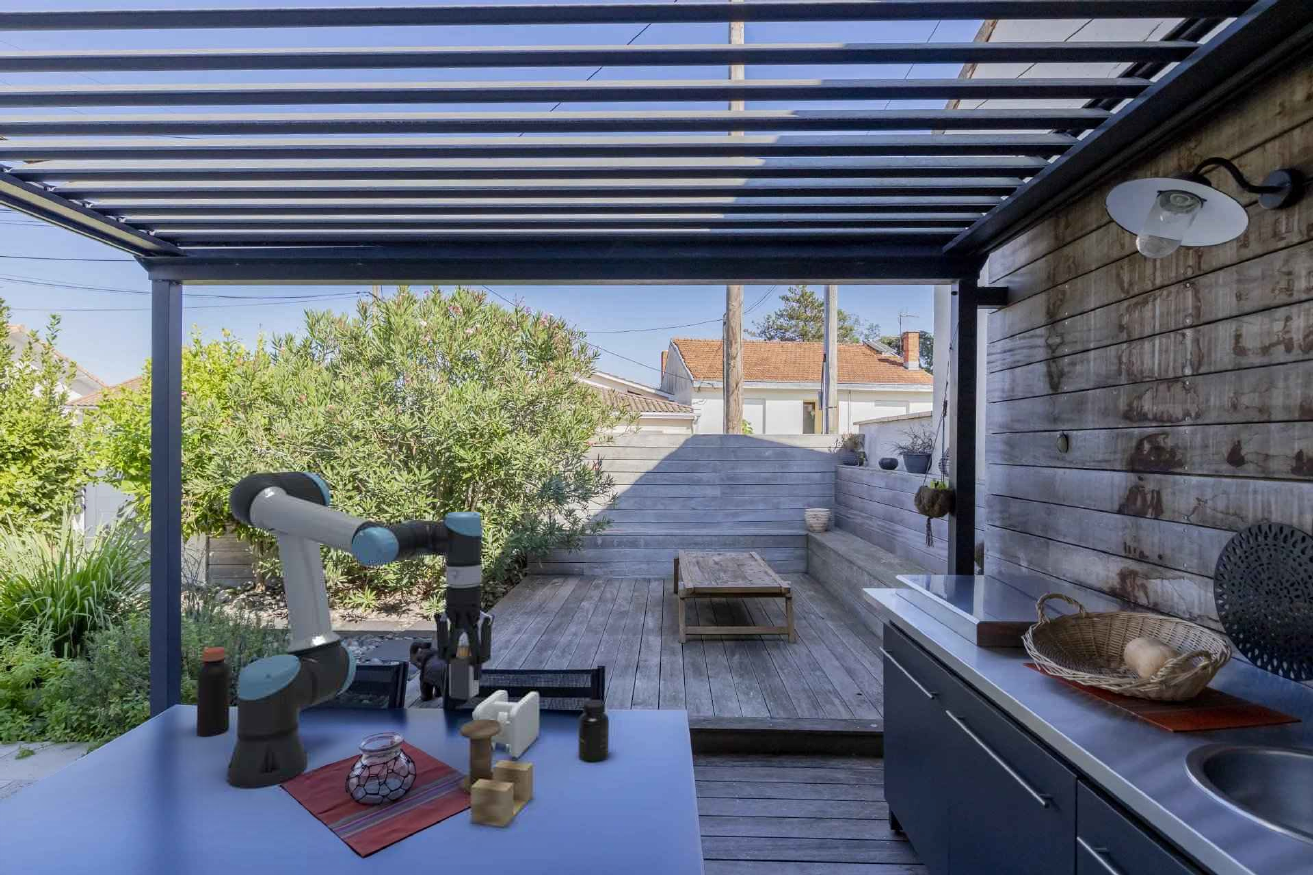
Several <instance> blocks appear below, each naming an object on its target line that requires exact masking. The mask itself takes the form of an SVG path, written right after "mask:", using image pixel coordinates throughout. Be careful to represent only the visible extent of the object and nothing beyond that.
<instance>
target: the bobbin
mask: <svg viewBox="0 0 1313 875" xmlns="http://www.w3.org/2000/svg"><path fill="white" fill-rule="evenodd" d="M500 731H501V724H500V723H499V722H498V721H495V720H490V719H480V720H474V721H473V720H471V721H468V722H465V723H463V724H462V725H461V727H460V735H461V737H463V738H466V739H469V774H467V775H465V776H464V777H462V778H461V780H460V790H461V791H462V790H463V791H465V792H468V793H471V786H473V785H474V784H475V783H476V782H477V781H478V780H479V779H484V780H492V781H493V765H492V760H493V759H492V757H493V756H492V751H493V747H492V736H495V735H497V734H498V733H499V732H500ZM463 791H462V792H463ZM465 792H464V793H465ZM468 793H467V794H468Z"/></svg>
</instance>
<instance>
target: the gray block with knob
mask: <svg viewBox="0 0 1313 875" xmlns="http://www.w3.org/2000/svg"><path fill="white" fill-rule="evenodd" d="M470 664H472V659H471V653H470V648H469V644H466V645H464V644H463V645H458V651H457V656H456V657H455V658H453V659H451V695H450V699H459V700H469V699H470V698H471V697H469V666H470Z"/></svg>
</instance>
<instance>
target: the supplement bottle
mask: <svg viewBox="0 0 1313 875" xmlns="http://www.w3.org/2000/svg"><path fill="white" fill-rule="evenodd" d="M582 707H583V709H582V712H583V713H582V714H581V715H580V716H579V719H578V745H577V746H578V749H577V750H578V753H577V754H578V757H579V759H580V760H582V761H584V762H587V763H598V762H602V761H604V760H606V759H608V758H607V757H608V756H609V742H610V738H609V737H610V736H609V735H610V733H609V732H610V719H609V715H607V713H605V711H606V705H605V702H604V701H603V700H601V699H589V700H586V701H584V702H583V706H582Z"/></svg>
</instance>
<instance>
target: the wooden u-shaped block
mask: <svg viewBox="0 0 1313 875" xmlns="http://www.w3.org/2000/svg"><path fill="white" fill-rule="evenodd" d="M492 772H493V781H492V780H484V779H479V780H478V781H477V782H476V783H475V784H474V785H473V786H471V794H470V823H472V824H479V825H487V826H493V827H500V828H507V826H508V825H509V824H510V823H511V822H512V821H513V819H514V818H516V816H518V814H519V813H520V812H521V811H520V810H523V809H524V807H525V806H526V805H527V804H528V803H529V802H528V801H531V799H532V798H534V797H533V794H534V792H533V789H534V788H533V787H534V785H533V784H534V782H533V779H534V778H533V776H534V773H533V772H534V763H532V762H531V763H530V762H523V761H515V760H506V759H500V760H499V761H498V762H497V763H496V764H494V765H492ZM527 802H528V803H527ZM526 803H527V804H526ZM525 804H526V805H525ZM524 805H525V806H524Z"/></svg>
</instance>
